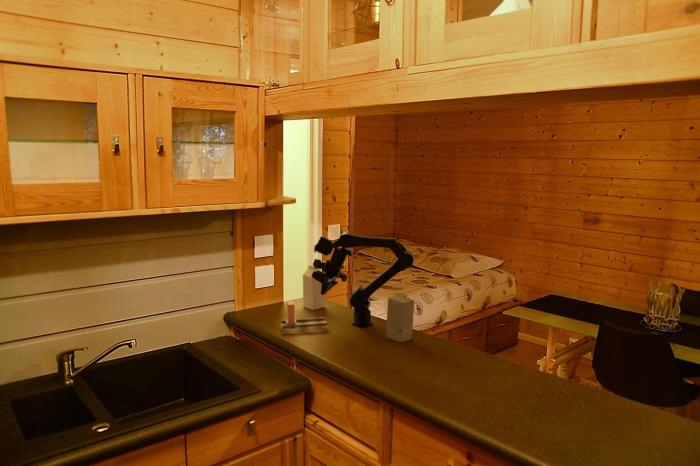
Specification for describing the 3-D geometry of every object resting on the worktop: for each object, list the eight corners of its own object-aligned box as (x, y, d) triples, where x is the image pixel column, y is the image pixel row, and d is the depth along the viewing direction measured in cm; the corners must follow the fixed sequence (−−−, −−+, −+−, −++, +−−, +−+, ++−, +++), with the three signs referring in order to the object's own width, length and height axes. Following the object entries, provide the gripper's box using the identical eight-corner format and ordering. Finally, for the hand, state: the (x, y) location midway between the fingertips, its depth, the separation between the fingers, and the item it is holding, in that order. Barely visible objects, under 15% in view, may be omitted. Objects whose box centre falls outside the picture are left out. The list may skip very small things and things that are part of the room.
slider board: (324, 323, 223) (324, 316, 222) (328, 331, 213) (328, 324, 213) (280, 326, 219) (280, 319, 219) (282, 334, 210) (282, 327, 209)
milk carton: (312, 310, 240) (312, 269, 237) (303, 307, 245) (302, 266, 242) (325, 307, 245) (324, 266, 242) (315, 304, 250) (314, 264, 247)
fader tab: (295, 321, 218) (295, 300, 216) (296, 325, 213) (296, 304, 211) (285, 322, 217) (285, 301, 215) (286, 326, 212) (286, 305, 211)
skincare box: (385, 337, 206) (385, 297, 203) (397, 333, 211) (398, 294, 208) (401, 343, 200) (402, 302, 197) (414, 339, 204) (415, 298, 202)
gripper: (334, 251, 230) (320, 283, 233) (309, 251, 214) (294, 285, 217) (354, 264, 225) (339, 296, 228) (330, 265, 209) (314, 299, 212)
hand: (322, 294), depth 221 cm, fingers closed
